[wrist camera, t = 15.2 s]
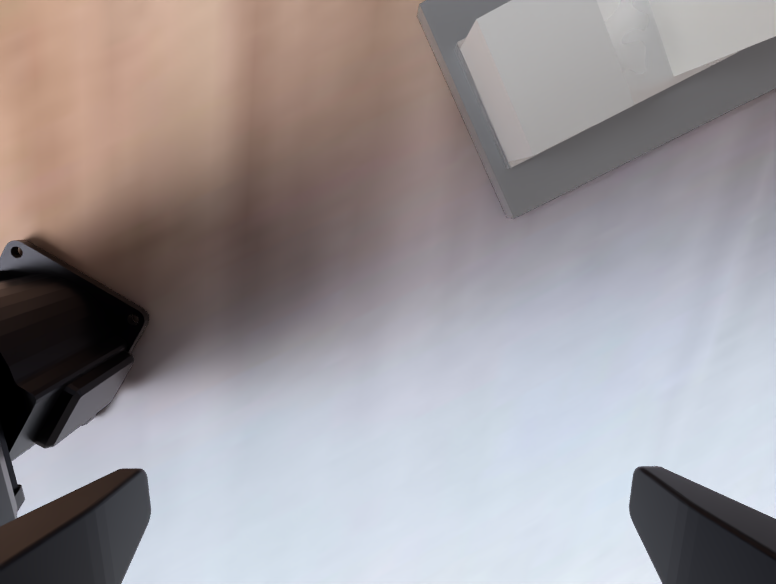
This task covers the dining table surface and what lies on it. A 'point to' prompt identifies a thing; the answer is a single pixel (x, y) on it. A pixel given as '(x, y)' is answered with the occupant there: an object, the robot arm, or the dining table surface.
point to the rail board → (601, 137)
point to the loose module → (710, 28)
